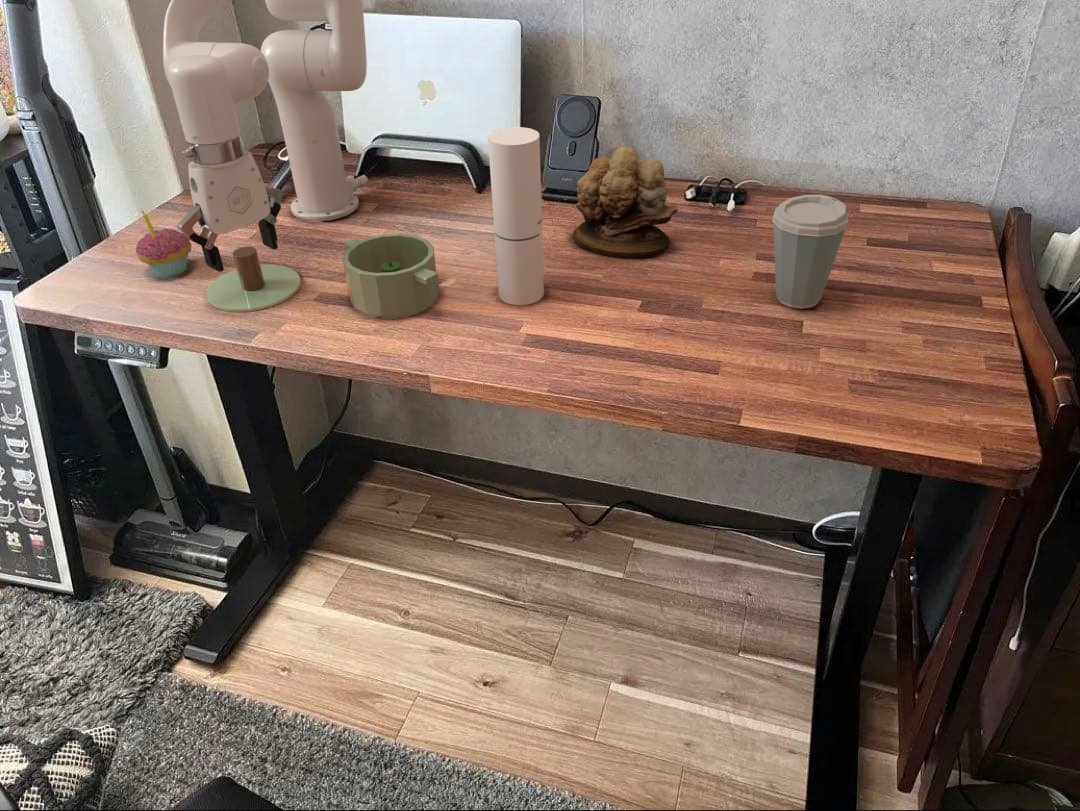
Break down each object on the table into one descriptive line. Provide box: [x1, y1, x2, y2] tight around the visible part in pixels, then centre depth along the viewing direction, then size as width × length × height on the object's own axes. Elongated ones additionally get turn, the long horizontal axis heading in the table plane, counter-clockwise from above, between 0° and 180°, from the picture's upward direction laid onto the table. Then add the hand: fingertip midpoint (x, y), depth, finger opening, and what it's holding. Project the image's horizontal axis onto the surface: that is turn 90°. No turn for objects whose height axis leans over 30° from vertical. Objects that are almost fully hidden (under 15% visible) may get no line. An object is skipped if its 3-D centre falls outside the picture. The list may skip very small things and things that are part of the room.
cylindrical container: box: [487, 126, 545, 306], centre depth 125 cm, size 7×7×25 cm
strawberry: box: [379, 260, 403, 273], centre depth 131 cm, size 4×4×6 cm
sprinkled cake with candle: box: [135, 209, 192, 278], centre depth 138 cm, size 9×8×12 cm
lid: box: [205, 246, 302, 313], centre depth 133 cm, size 15×15×7 cm
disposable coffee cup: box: [771, 194, 849, 310], centre depth 125 cm, size 11×11×15 cm
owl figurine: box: [572, 145, 679, 259], centre depth 140 cm, size 18×12×17 cm, turn 69°
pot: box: [342, 233, 439, 320], centre depth 131 cm, size 14×19×8 cm
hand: (244, 257), depth 131 cm, fingers open, 9 cm apart
